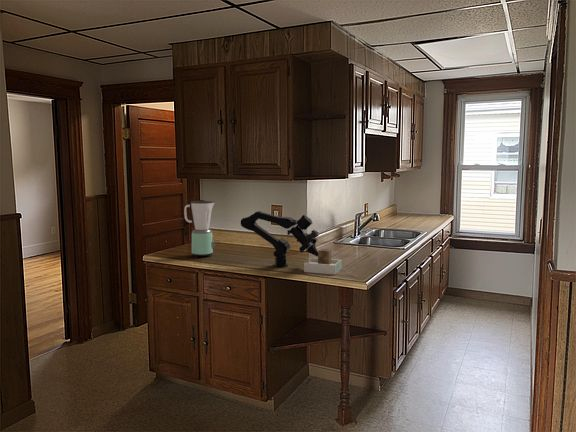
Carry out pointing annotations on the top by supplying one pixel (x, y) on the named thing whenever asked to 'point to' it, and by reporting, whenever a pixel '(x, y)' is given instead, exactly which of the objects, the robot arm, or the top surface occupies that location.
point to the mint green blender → (201, 227)
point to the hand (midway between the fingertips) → (319, 256)
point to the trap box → (323, 267)
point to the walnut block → (324, 256)
